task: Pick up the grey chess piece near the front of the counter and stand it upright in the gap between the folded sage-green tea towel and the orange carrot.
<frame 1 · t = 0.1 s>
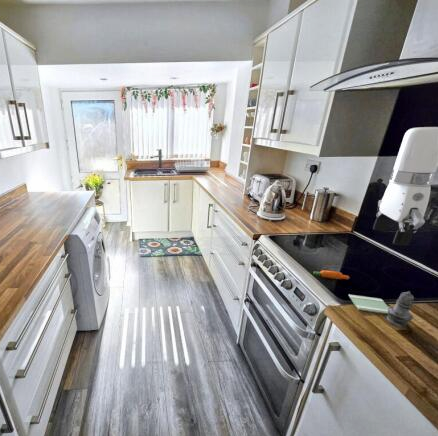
hand: (389, 237, 68), 30 cm above the counter, tool pointing down, fingers open, 9 cm apart
grey chess piece: (396, 321, 78), on the counter
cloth: (369, 304, 85), on the counter
carrot: (330, 277, 100), on the counter
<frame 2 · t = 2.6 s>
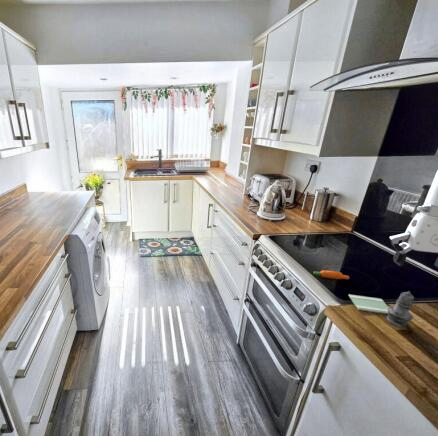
hand: (418, 265, 70), 21 cm above the counter, tool pointing down, fingers open, 9 cm apart
nothing on the counter moved.
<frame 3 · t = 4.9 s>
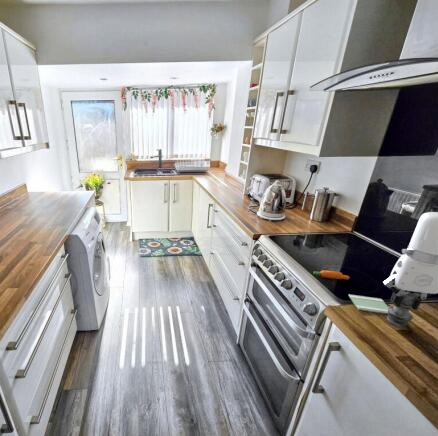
hand: (403, 305, 75), 7 cm above the counter, tool pointing down, fingers closed on grey chess piece, 3 cm apart
grey chess piece: (396, 321, 78), on the counter, touching gripper
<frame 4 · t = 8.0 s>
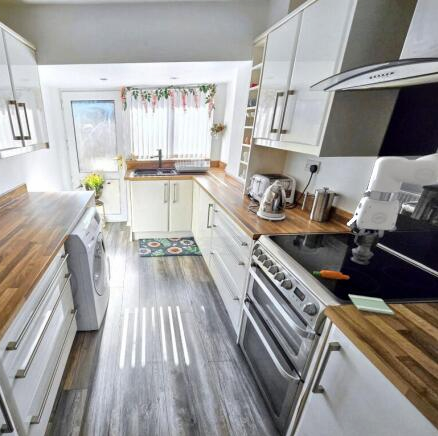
hand: (364, 244, 85), 20 cm above the counter, tool pointing down, fingers closed on grey chess piece, 3 cm apart
grey chess piece: (359, 261, 88), point 13 cm above the counter, touching gripper
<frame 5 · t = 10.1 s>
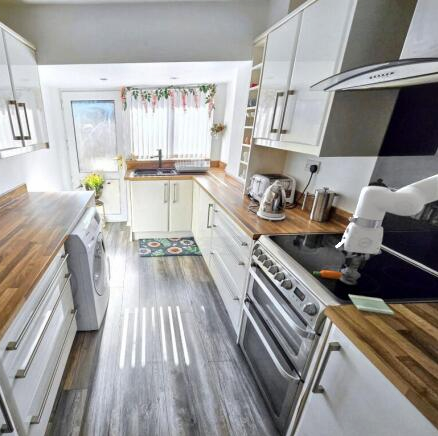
hand: (352, 265, 90), 10 cm above the counter, tool pointing down, fingers closed on grey chess piece, 3 cm apart
grey chess piece: (347, 280, 93), point 3 cm above the counter, touching gripper
when the fingers open (7 cm above the counter, at t = 11.4 s): grey chess piece stays where it is, on the counter.
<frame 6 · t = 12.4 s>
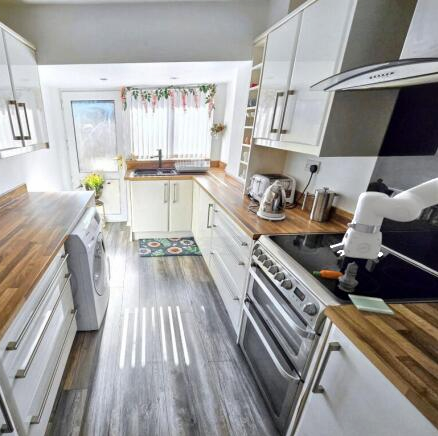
hand: (353, 268, 91), 9 cm above the counter, tool pointing down, fingers open, 9 cm apart
grey chess piece: (345, 288, 94), on the counter
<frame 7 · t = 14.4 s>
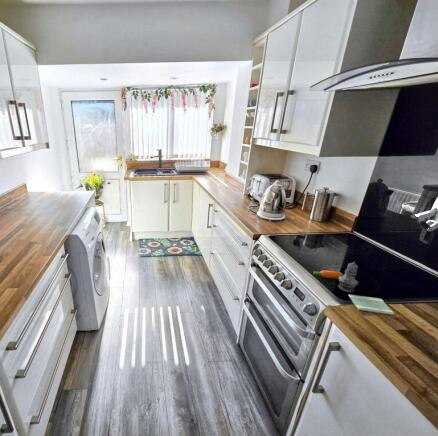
nothing on the counter moved.
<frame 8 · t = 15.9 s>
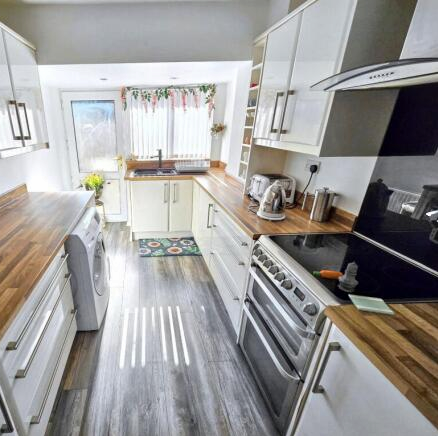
nothing on the counter moved.
at the end: grey chess piece 0.3 cm from the target spot on the counter beside the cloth, on the counter; grey chess piece 6.9 cm from the carrot (horizontally); grey chess piece tilted 0° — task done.
